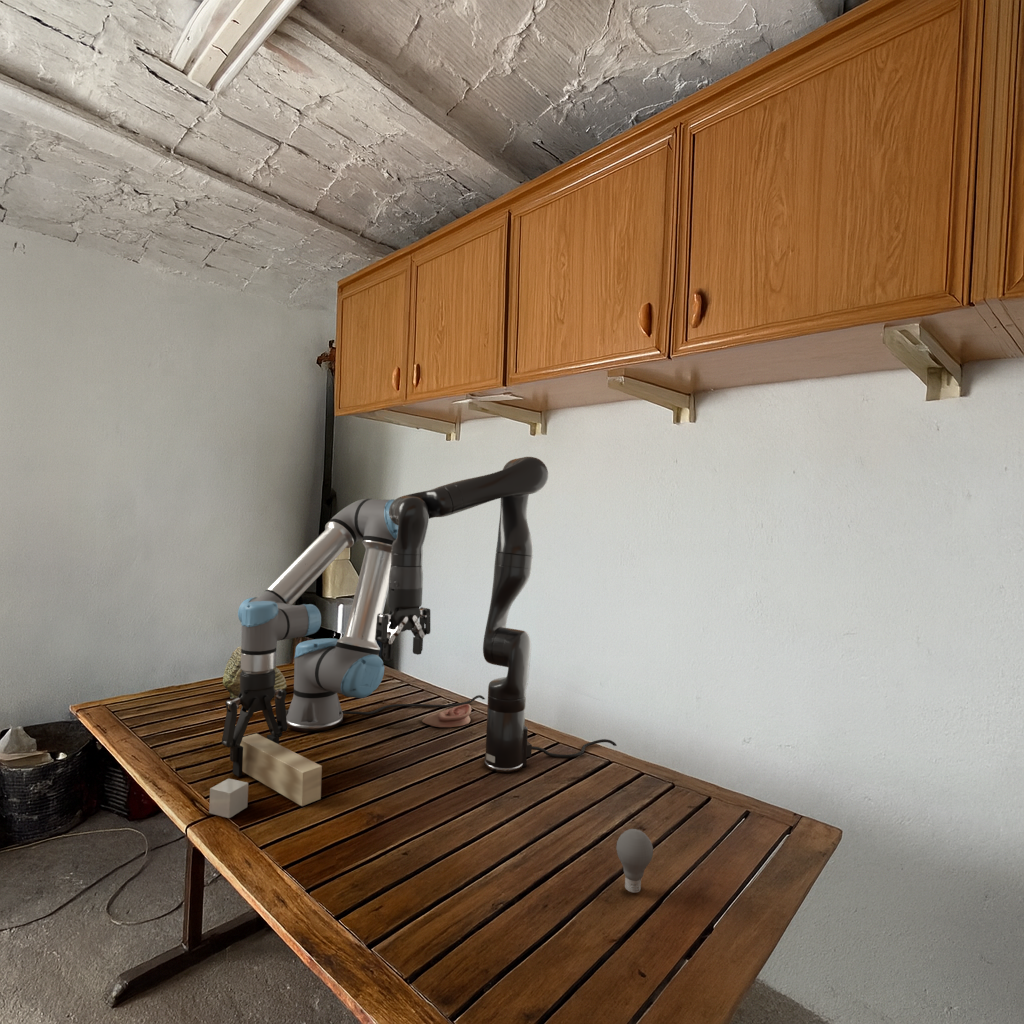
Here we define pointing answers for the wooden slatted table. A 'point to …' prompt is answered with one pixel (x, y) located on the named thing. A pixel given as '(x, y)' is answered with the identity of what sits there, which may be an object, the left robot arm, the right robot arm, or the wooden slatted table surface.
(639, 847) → the light bulb
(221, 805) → the grey block
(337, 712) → the left robot arm
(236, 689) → the fossil
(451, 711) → the anatomical model
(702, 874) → the wooden slatted table surface
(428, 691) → the wooden slatted table surface
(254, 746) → the ash bar
